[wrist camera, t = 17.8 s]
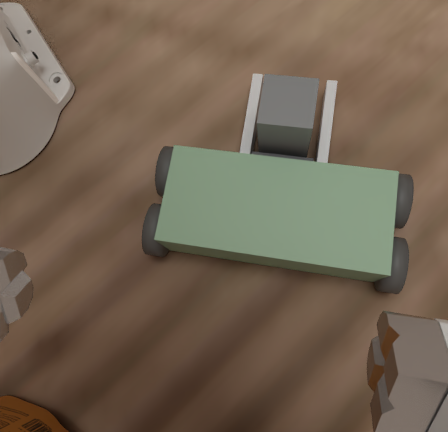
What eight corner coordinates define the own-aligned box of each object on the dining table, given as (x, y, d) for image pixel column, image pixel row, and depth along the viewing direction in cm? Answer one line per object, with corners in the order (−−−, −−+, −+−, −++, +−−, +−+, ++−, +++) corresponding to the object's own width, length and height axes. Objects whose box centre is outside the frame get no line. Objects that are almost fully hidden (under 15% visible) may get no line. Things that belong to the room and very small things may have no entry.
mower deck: (153, 257, 42) (134, 247, 36) (189, 83, 46) (178, 49, 41) (389, 295, 39) (410, 291, 33) (404, 103, 43) (425, 69, 37)
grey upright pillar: (259, 166, 43) (256, 122, 33) (266, 127, 44) (264, 74, 34) (303, 171, 42) (312, 128, 33) (308, 131, 43) (319, 78, 34)
